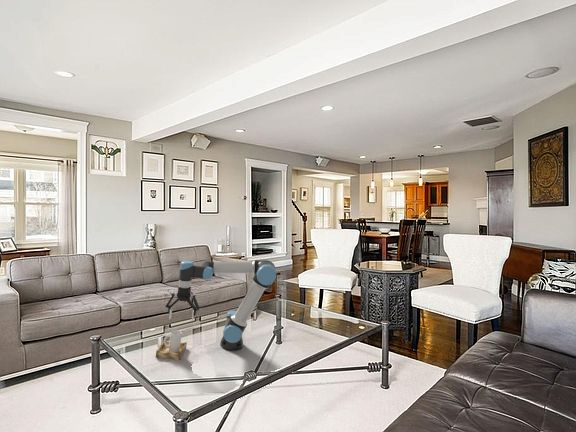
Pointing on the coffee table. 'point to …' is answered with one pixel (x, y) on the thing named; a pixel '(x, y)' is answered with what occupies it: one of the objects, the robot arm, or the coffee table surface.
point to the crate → (165, 353)
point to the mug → (173, 341)
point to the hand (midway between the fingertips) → (181, 319)
